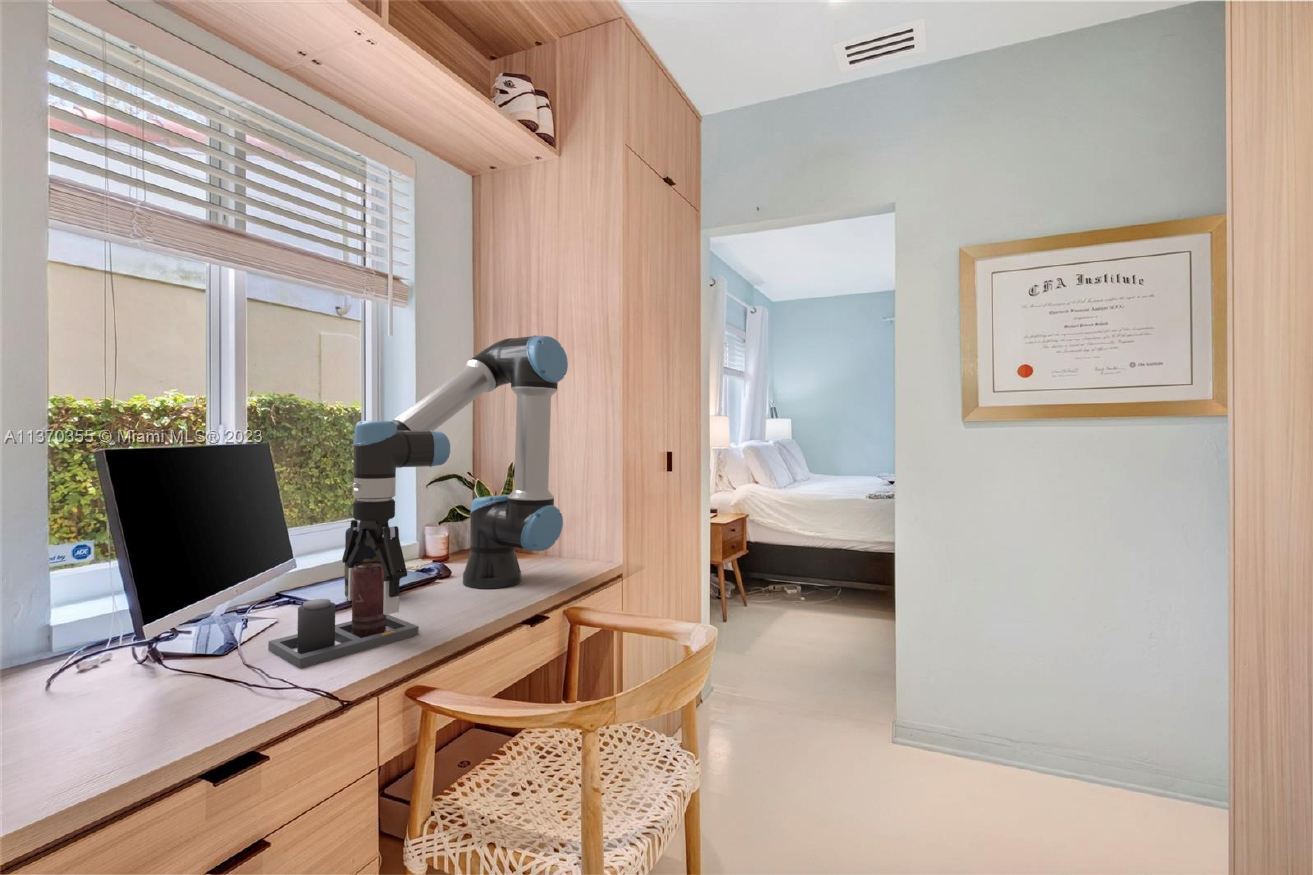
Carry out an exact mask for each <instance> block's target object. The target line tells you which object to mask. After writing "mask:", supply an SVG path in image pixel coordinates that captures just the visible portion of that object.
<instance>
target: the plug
mask: <svg viewBox="0 0 1313 875" xmlns="http://www.w3.org/2000/svg"><path fill="white" fill-rule="evenodd" d="M335 625H336V602H335V603H334V602H332V601H331V599H330V598H315V599H309V600H307V601H304V602H303V603H302V605H301V606H298V607H297V634H298V638H297V646H296V647H297V648H296V652H298V653H299V654H304V653H308V652H312V651H315V650H319V649H323V648H327V647H330V646H334V645H336V640H335Z"/></svg>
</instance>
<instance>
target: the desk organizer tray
mask: <svg viewBox="0 0 1313 875" xmlns="http://www.w3.org/2000/svg"><path fill="white" fill-rule="evenodd" d="M386 627H388V628H390V630H385V631H384V632H382V633H379V634H375V635H371V636H368V637H364V638H360V637H357V636H355V635H353V634H352V620H351V621H345V622H342V623H338V624H335V642H338V643H339V644H335V645H334V646H330V647H327V648H323V649H319V650H315V651H312V652H308V653H304V654H299V653H298V652H297V650H294V649H293V648H295V647H297V638H298V633H296V634H295V633H294V634H292V635H288V636H287V635H286V636H283V637H280V638H275V639H271V640H268V651H270V652H272V653H273V654H275V655H276V656H279V657H280V658H282V659H283V660H284V661H286V662H288V663H290V664H292V665H293V666H295V667H297V668H299V669H302V668H305V667H309V666H312V665H316V664H317V665H318V664H320V663H322V662H323V663H324V662H326V661H330V660H334V659H337V658H340V657H344V656H347V655H351V654H355V653H358V652H361V651H365V650H368V649H372V648H376V647H380V646H382V645H386V644H389V643H393V642H397V641H400V640H403V639H406V638H411V637H413V636H418V635H419V631H420V630H419V625H416V624H413V623H411V622H408V621H405V620H403V619H400V618H398V617H397V616H396V617H395V616H393V615H392V614H388V615H386Z"/></svg>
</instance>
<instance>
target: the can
mask: <svg viewBox="0 0 1313 875" xmlns="http://www.w3.org/2000/svg"><path fill="white" fill-rule="evenodd" d="M385 577H386V575H385V573H384V570H383V567H382V565H381V562H380V561H369V562H361V563H358V564H355V565H354V568H353V570H352V601H351V621H352V632H351V634H353V635H355V636H357V637H360V638H364V637H368V636H371V635H375V634H379V633H382V632H386V631H387V630H386V629H387V626H386V615H384V614H383V600H384V581H383V580H384V578H385Z"/></svg>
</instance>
